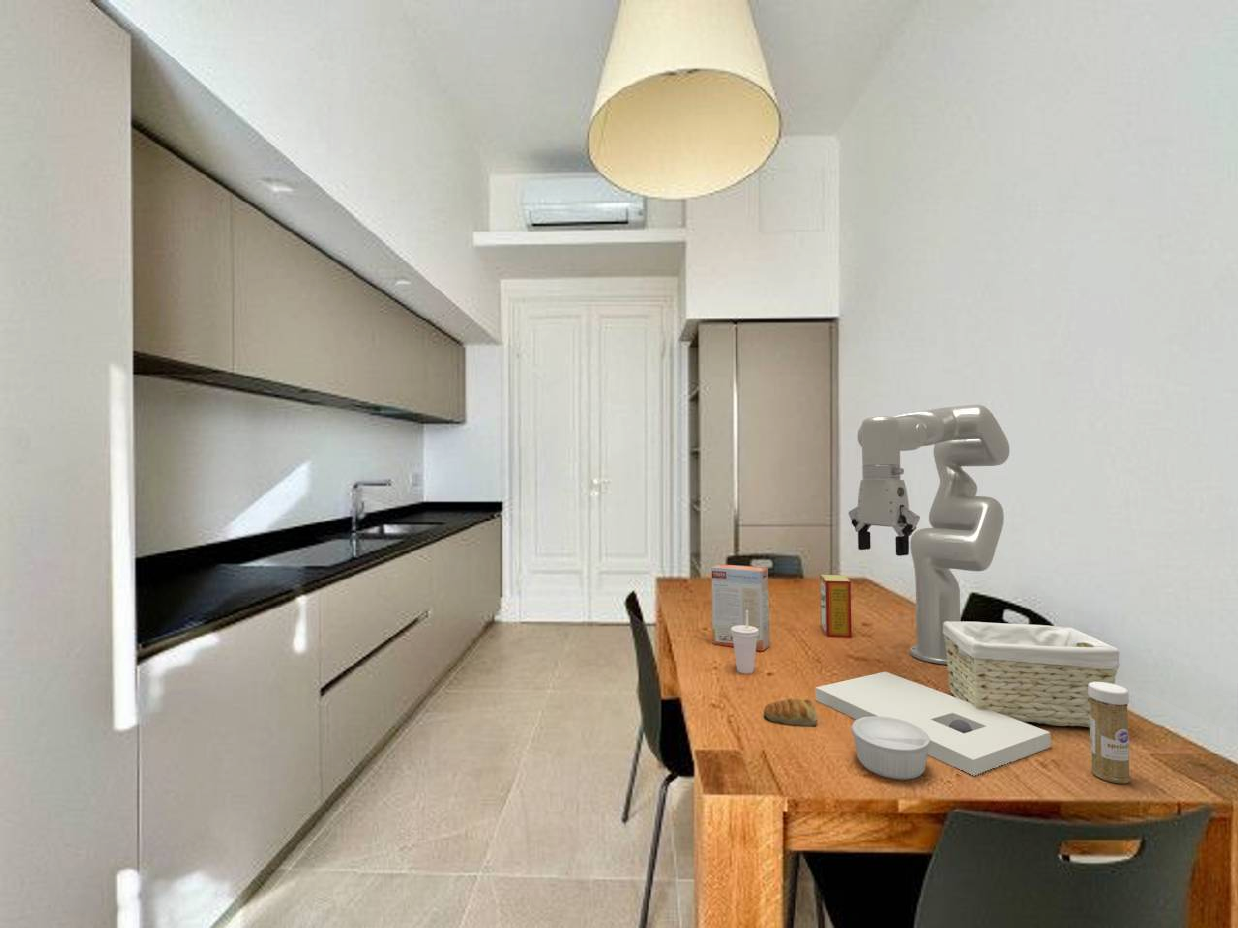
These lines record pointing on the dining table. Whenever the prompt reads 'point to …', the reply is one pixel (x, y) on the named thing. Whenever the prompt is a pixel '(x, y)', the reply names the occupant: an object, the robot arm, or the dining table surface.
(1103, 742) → the sprinkles bottle
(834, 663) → the dining table surface
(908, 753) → the ramekin
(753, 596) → the cracker box
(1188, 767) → the dining table surface
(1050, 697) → the storage basket
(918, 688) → the board
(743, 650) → the smoothie
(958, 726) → the ball
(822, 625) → the baking soda box
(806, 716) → the pastry
